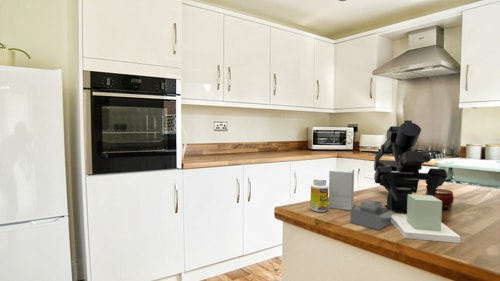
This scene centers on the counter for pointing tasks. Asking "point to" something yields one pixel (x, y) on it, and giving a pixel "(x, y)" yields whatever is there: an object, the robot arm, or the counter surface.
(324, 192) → the supplement bottle
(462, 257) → the counter surface
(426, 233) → the cutting board
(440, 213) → the pale green block
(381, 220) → the dark grey block
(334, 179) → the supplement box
